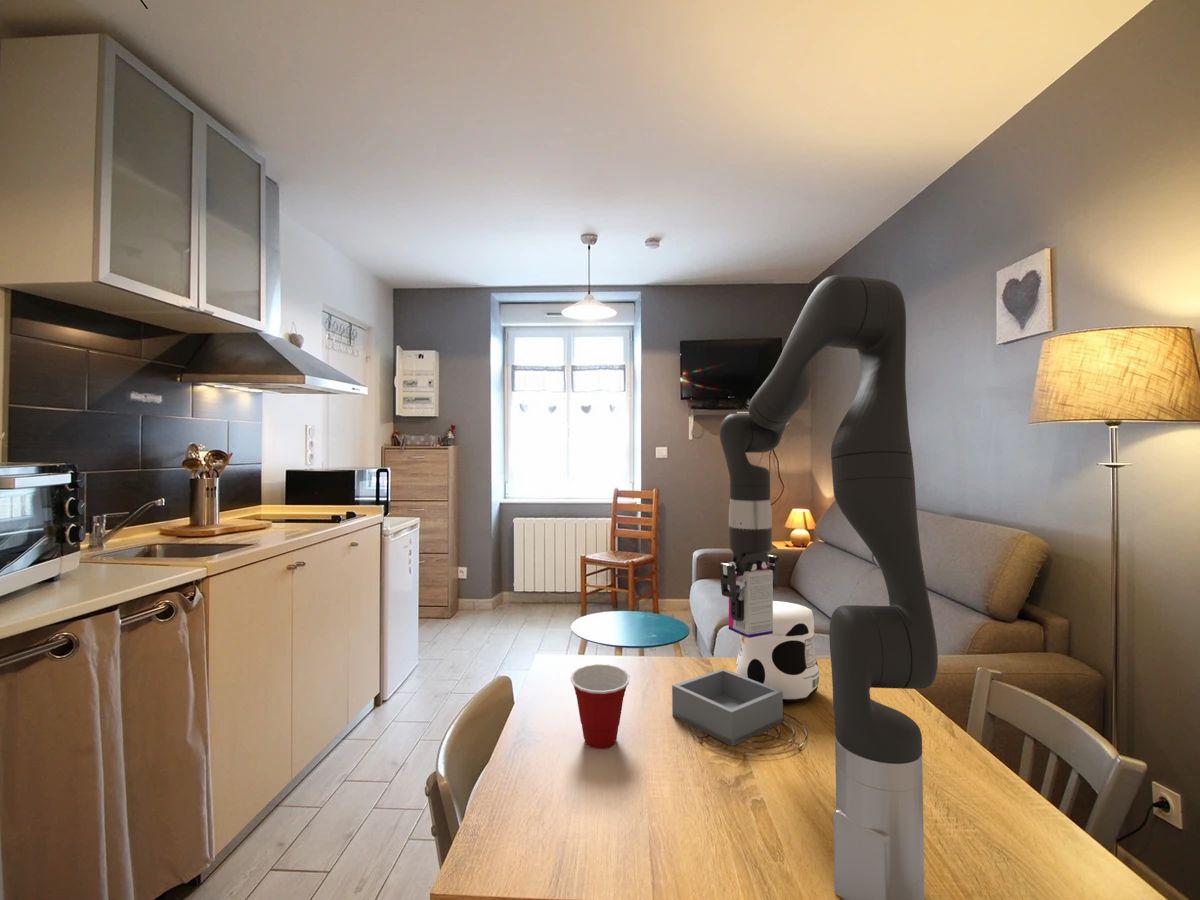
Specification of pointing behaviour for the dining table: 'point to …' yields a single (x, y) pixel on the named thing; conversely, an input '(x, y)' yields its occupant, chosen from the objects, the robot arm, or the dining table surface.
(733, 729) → the box
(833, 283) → the robot arm
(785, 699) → the milk container
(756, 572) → the supplement box
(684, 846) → the dining table surface
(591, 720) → the plastic cup
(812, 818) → the dining table surface
